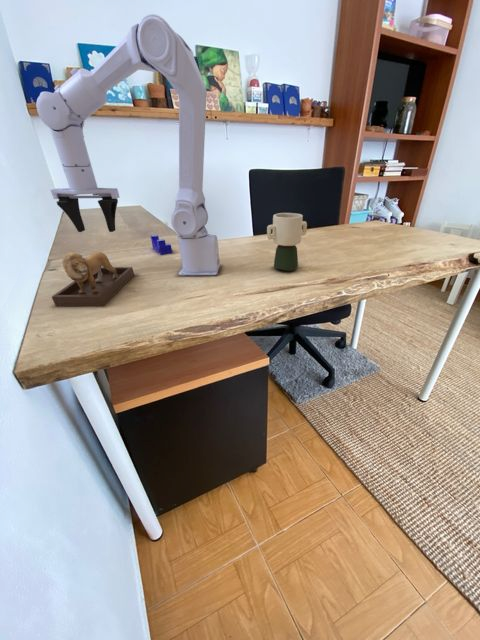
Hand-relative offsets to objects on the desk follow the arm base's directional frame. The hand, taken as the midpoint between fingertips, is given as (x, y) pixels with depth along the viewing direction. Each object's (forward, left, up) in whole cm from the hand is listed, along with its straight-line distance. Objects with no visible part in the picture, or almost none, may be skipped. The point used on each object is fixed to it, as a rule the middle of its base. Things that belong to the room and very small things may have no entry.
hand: (97, 231), depth 72 cm
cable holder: (-10, -16, -10) cm, 21 cm away
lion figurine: (-4, +14, -9) cm, 18 cm away
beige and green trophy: (-47, +1, -10) cm, 48 cm away
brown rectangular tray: (-4, +14, -9) cm, 17 cm away
